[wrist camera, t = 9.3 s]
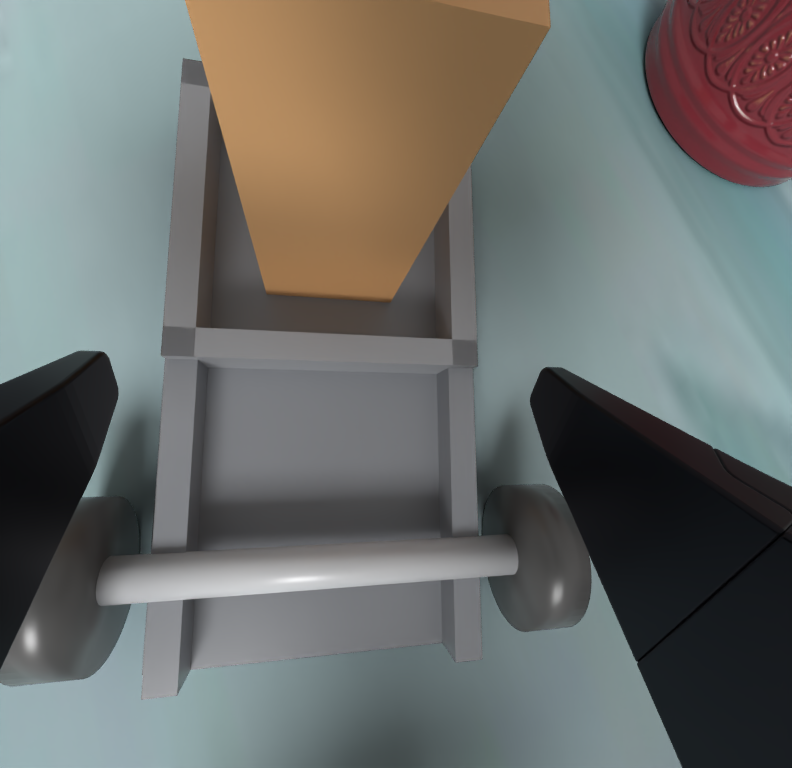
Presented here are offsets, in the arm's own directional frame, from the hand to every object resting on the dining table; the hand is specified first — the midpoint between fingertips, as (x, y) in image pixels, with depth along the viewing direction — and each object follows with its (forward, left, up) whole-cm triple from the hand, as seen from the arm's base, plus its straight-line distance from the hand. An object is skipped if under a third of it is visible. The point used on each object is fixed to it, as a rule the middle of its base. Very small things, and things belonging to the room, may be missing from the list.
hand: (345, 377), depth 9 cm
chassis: (+1, +2, -9) cm, 9 cm away
